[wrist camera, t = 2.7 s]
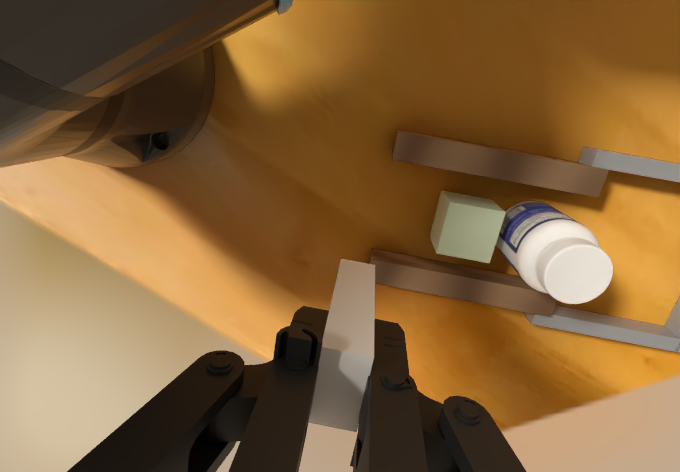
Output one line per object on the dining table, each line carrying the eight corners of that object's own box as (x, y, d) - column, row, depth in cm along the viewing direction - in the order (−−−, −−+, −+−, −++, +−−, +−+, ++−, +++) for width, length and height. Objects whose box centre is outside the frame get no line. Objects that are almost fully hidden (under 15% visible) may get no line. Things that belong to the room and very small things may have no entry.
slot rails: (367, 269, 35) (366, 281, 32) (397, 129, 31) (398, 132, 28) (538, 302, 34) (550, 317, 32) (591, 164, 30) (609, 170, 28)
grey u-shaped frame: (522, 311, 35) (531, 324, 33) (584, 146, 30) (598, 149, 28) (672, 340, 34) (689, 354, 32) (758, 177, 29) (784, 183, 28)
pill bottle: (563, 252, 33) (628, 305, 24) (498, 266, 34) (539, 322, 25) (556, 191, 31) (622, 225, 23) (488, 208, 32) (527, 246, 24)
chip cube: (429, 236, 33) (436, 253, 30) (441, 189, 32) (449, 201, 28) (476, 244, 33) (489, 263, 29) (490, 198, 32) (506, 212, 28)
